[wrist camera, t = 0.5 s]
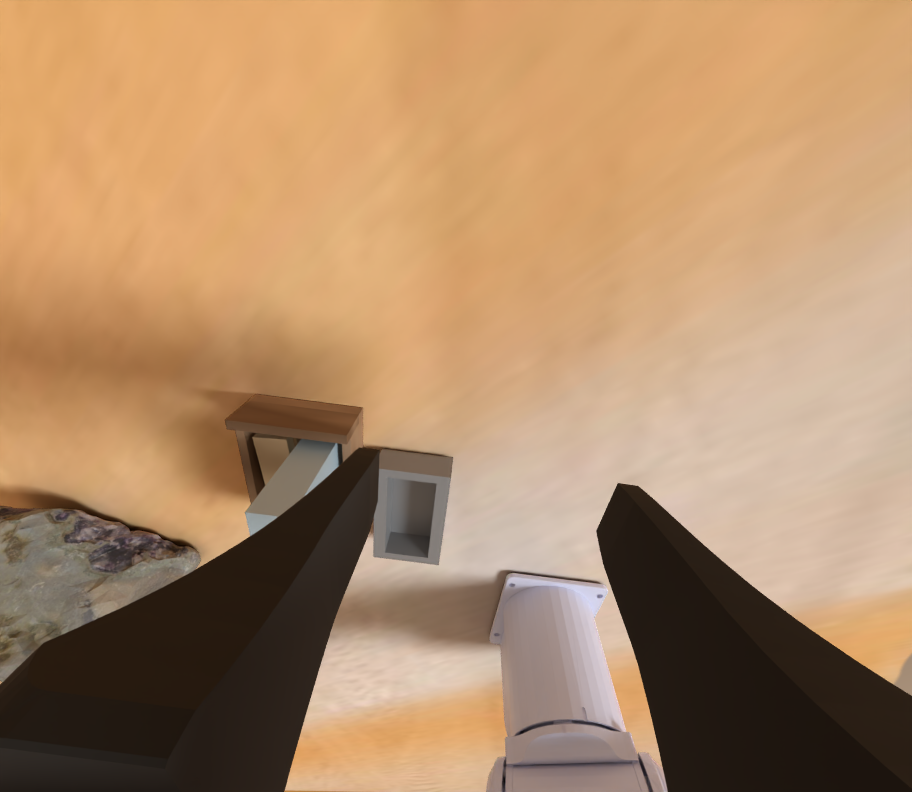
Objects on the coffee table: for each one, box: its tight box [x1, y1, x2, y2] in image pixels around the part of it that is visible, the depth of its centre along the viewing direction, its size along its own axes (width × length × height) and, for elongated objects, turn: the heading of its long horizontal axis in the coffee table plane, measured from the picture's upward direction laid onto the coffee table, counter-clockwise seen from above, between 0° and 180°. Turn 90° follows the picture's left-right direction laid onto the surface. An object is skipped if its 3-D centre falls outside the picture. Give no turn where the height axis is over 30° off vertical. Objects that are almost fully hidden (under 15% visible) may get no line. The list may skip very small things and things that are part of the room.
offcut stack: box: [252, 433, 301, 486], centre depth 22 cm, size 6×2×1 cm, turn 173°
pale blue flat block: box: [245, 439, 343, 536], centre depth 20 cm, size 6×2×7 cm, turn 173°
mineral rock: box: [0, 506, 201, 682], centre depth 24 cm, size 13×11×10 cm
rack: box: [225, 394, 363, 504], centre depth 22 cm, size 8×7×3 cm
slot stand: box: [373, 449, 453, 565], centre depth 24 cm, size 8×5×2 cm, turn 173°
